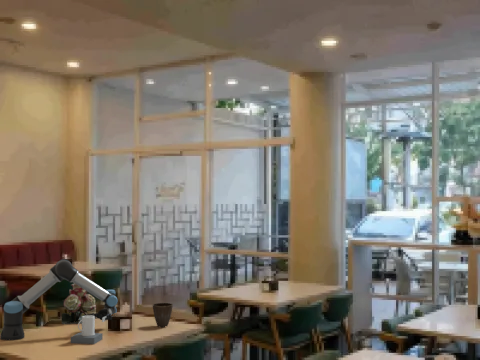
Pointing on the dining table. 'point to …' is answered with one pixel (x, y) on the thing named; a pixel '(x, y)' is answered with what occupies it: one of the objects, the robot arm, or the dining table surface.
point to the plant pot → (162, 313)
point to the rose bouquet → (77, 305)
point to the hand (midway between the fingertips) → (92, 319)
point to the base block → (86, 338)
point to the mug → (87, 325)
